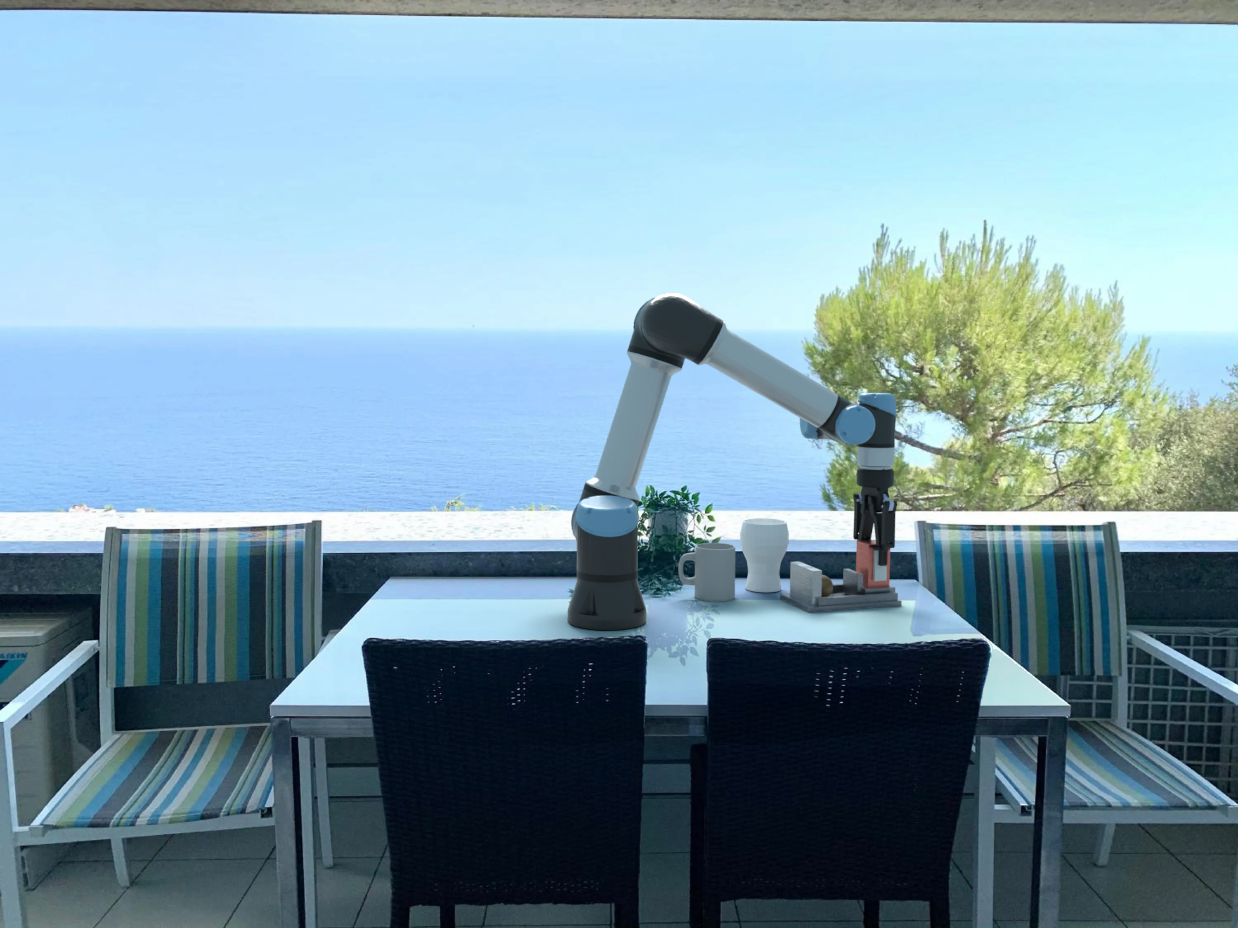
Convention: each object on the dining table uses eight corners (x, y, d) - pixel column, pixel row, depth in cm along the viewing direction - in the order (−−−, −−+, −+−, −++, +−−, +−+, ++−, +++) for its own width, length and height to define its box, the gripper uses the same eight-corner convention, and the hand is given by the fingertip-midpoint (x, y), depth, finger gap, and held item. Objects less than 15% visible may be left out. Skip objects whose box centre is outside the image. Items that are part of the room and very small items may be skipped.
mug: (732, 592, 222) (733, 542, 221) (736, 601, 213) (737, 549, 212) (677, 592, 222) (677, 542, 221) (679, 601, 213) (679, 549, 212)
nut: (815, 602, 209) (815, 577, 208) (804, 596, 214) (804, 573, 213) (837, 600, 210) (837, 576, 210) (825, 595, 215) (826, 571, 215)
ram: (859, 599, 210) (861, 546, 209) (840, 591, 218) (841, 539, 217) (895, 596, 212) (896, 544, 211) (874, 588, 220) (876, 538, 219)
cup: (791, 594, 220) (792, 525, 219) (741, 594, 221) (742, 524, 219) (784, 584, 231) (785, 518, 229) (736, 583, 231) (737, 517, 230)
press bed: (808, 612, 204) (809, 572, 203) (780, 598, 216) (780, 560, 216) (901, 605, 210) (902, 567, 209) (868, 592, 223) (869, 556, 222)
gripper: (915, 471, 205) (912, 585, 207) (868, 462, 223) (866, 568, 225) (882, 472, 203) (879, 587, 205) (837, 463, 220) (835, 570, 223)
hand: (872, 577), depth 215 cm, fingers closed on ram, 5 cm apart
